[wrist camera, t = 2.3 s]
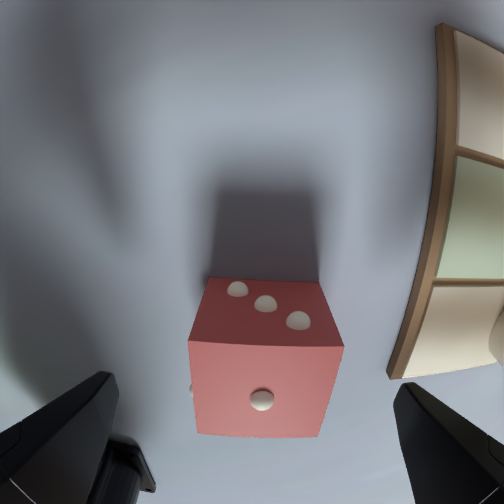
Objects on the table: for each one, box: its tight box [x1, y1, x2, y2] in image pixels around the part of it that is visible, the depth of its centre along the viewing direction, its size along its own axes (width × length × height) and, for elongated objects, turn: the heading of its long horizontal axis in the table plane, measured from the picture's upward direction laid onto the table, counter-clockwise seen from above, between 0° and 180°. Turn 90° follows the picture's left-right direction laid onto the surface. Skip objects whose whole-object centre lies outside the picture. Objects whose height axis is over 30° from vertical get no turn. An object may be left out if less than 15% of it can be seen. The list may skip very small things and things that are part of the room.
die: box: [188, 277, 344, 438], centre depth 10 cm, size 4×4×4 cm
